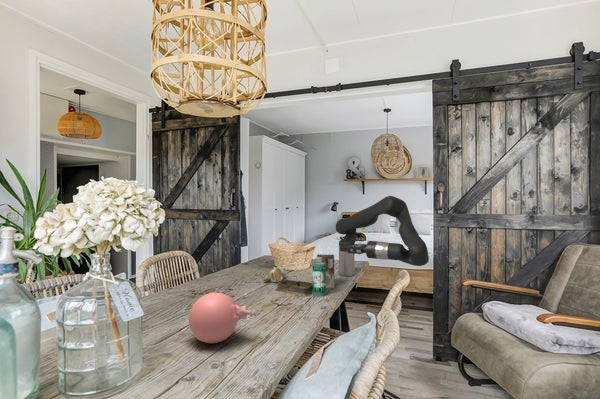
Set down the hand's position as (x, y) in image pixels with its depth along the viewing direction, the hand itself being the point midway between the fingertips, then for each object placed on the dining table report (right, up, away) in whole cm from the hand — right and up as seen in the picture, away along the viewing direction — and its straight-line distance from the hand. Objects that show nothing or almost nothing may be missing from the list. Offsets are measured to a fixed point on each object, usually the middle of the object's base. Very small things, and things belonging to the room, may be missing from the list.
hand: (343, 247), depth 149 cm
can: (-11, -24, +7) cm, 27 cm away
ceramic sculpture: (-33, -23, +30) cm, 50 cm away
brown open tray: (-22, -23, +13) cm, 34 cm away
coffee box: (-7, -23, +20) cm, 32 cm away
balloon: (-45, -24, -44) cm, 68 cm away
